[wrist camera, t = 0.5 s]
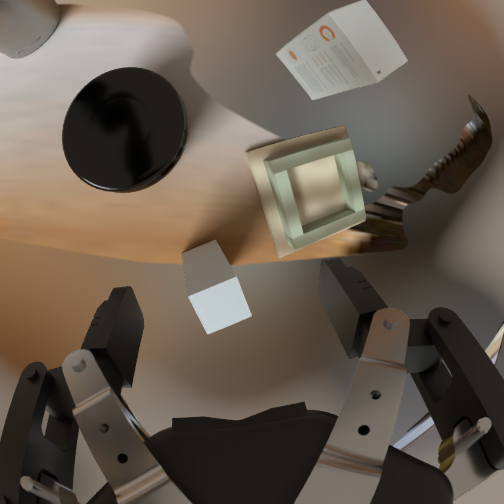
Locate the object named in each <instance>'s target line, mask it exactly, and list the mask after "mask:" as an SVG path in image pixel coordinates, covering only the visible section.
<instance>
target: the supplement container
mask: <svg viewBox="0 0 504 504" xmlns="http://www.w3.org/2000/svg"><path fill="white" fill-rule="evenodd" d="M188 134H189V119H188V113H187V110H186V107H185V104H184V102H183V100H182V98H181V97H180V95H179V94H178V93H177V91H176V90H175V89H174V87H173V86H172V85H171V84H170V83H169V82H168V81H167V80H166V79H165V78H163V77H162V76H161V75H159V74H157V73H155V72H153V71H150V70H147V69H143V68H137V67H125V68H119V69H114V70H111V71H108V72H106V73H104V74H102V75H100V76H98V77H96V78H95V79H93V80H92V81H90V82H89V83H88V84H87V85H86V86H85V87H84V88H82V90H81V91H80V92H79V93H78V94H77V95H76V97H75V98H74V100H73V101H72V103H71V105H70V107H69V109H68V111H67V114H66V116H65V120H64V124H63V130H62V144H63V150H64V154H65V157H66V160H67V162H68V164H69V166H70V167H71V169H72V170H73V172H74V173H75V174H76V175H77V176H78V177H79V178H80V179H81V180H82V181H83V182H85V183H86V184H88V185H90V186H92V187H94V188H96V189H99V190H103V191H109V192H116V193H130V192H136V191H140V190H143V189H146V188H148V187H150V186H152V185H154V184H156V183H157V182H159V181H160V180H162V179H163V178H164V177H165V176H166V175H168V174H169V173H170V172H171V170H172V169H173V168H174V167H175V166H176V164H177V163H178V161H179V160H180V158H181V156H182V154H183V152H184V150H185V147H186V144H187V140H188Z"/></svg>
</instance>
